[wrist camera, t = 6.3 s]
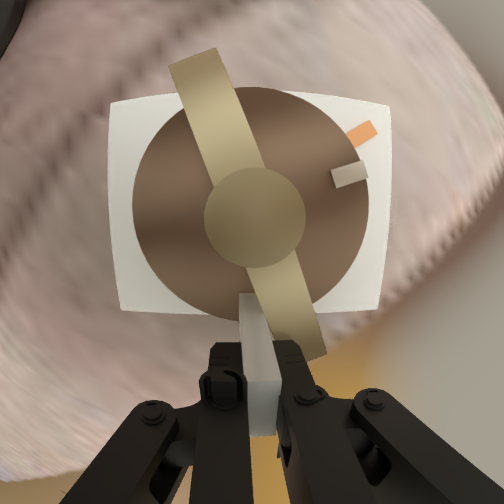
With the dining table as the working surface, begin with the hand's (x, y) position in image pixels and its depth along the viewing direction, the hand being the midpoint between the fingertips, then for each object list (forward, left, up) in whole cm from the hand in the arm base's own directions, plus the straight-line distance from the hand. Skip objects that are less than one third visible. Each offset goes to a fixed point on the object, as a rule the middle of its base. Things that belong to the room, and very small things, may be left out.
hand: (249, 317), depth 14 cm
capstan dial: (-5, 0, -3) cm, 6 cm away
